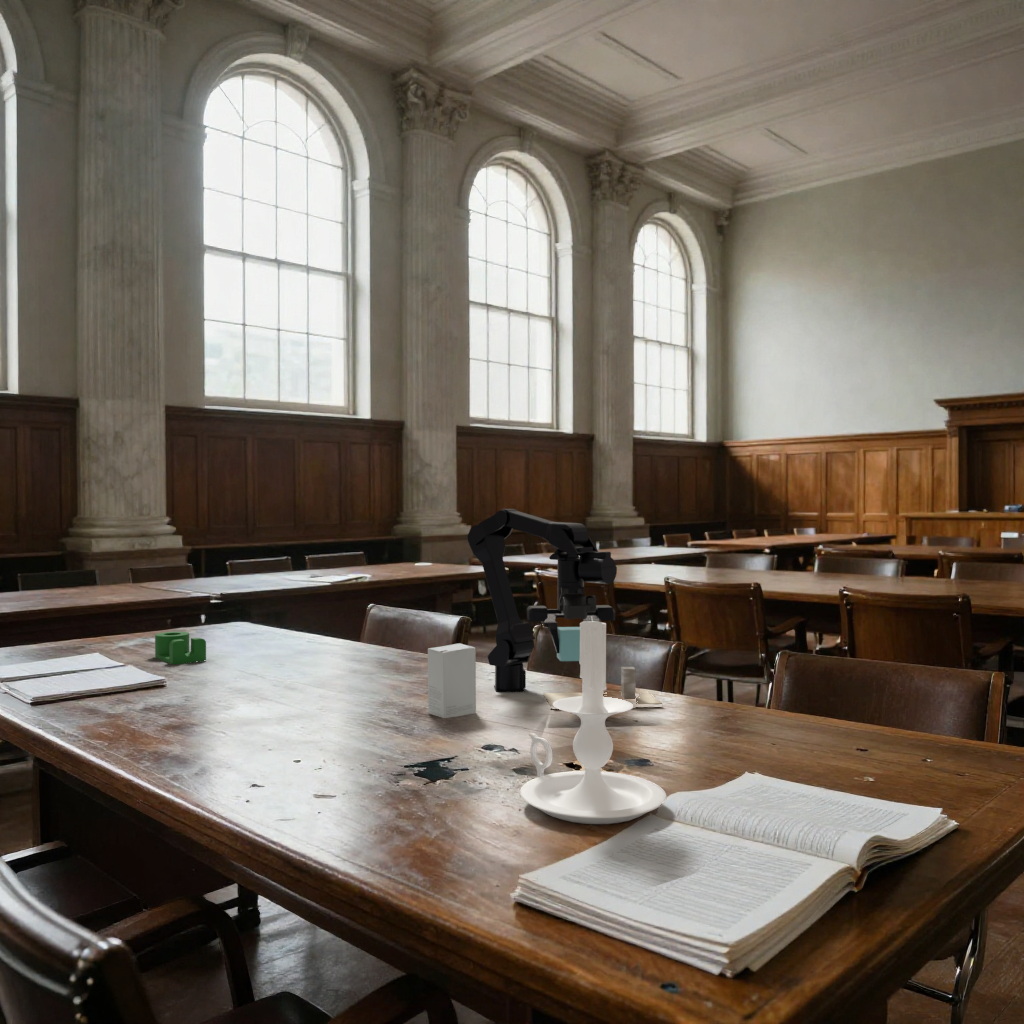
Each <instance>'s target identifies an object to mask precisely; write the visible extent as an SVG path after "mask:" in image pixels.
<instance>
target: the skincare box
mask: <svg viewBox="0 0 1024 1024" xmlns="http://www.w3.org/2000/svg"><path fill="white" fill-rule="evenodd" d="M476 649H477V648H476V647H474V646H472V645H467V644H463V643H461V642H459V643H454V644H447V645H443V646H436V647H430V648H429V647H428V648H427V704H428V705H427V707H428V708H427V710H428V714H429V715H432V716H436V717H439V718H443V719H448V718H454V717H455V718H456V717H460V716H461V717H462V716H467V715H473V714H477V694H476V693H477V690H476V689H477V688H476V687H477V686H476V685H477V679H476V678H477V677H476V675H477V672H476V671H477V669H476V668H477V666H476V665H477V663H476V655H477V654H476V653H477V651H476Z"/></svg>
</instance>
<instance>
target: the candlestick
mask: <svg viewBox="0 0 1024 1024" xmlns="http://www.w3.org/2000/svg"><path fill="white" fill-rule="evenodd" d="M591 619H592V616H591ZM579 627H580V661H578V662H579V665H580V666H579V667H580V669H579V670H580V673H579V678H580V679H581V683H582V684H581V687H582V689H581V690H582V692H581V693H582V696H577V697H568V698H563V699H559V700H557V701H555V702H554V703H553V706H554V707H555V708H557V709H559V710H558V711H563V712H566V713H570V714H573V715H575V716H577V717H578V718H579V719H580V725H579V729H577V732H576V733H575V735H574V738H573V741H572V751H573V754H574V756H575V758H576V759H577V761H578V763H579V764H580V765H581V766H582V767H583V768H584V770H573V771H572V770H571V771H562V772H561V771H560V772H554V773H548V774H545V773H544V771H545V769H547V768H549V767H550V766H551V765H552V762H553V750H552V746H551V744H550V742H549V741H548V740H547V739H546V738H544V737H540V736H539V735H537V734H536V733H534V732H533V733H528V736H529V737H530V739H531V744H530V756H531V757H530V758H531V759H532V762H533V764H534V766H535V768H536V774H537V777H535V778H533V779H531V780H528V781H527V782H525V783H524V784H523V785H522V786H521V788H520V790H519V794H520V797H521V799H522V800H523V801H524V802H526V803H527V804H528V805H530V806H532V807H534V808H536V809H538V810H540V811H541V812H542V813H545V814H546V815H549V816H551V817H553V818H556V819H559V820H561V821H566V822H571V823H578V824H584V825H588V824H589V825H612V824H620V823H623V822H624V823H625V822H629V821H632V820H635V819H637V818H640V817H642V816H644V815H645V814H647V813H648V812H652V811H654V810H657V809H658V808H660V807H661V806H662V805H663V804H662V802H663V801H664V800H665V799H666V800H667V797H668V796H667V792H666V791H665V790H664V789H663V788H662V787H661V786H660V785H658V784H656V783H654V782H653V781H650V780H648V779H645V778H643V777H638V776H635V775H630V774H627V773H622V772H621V773H620V772H612V771H603V770H602V768H603V767H604V766H605V765H606V764H607V763H608V762H609V760H610V759H611V757H612V755H613V752H614V743H613V739H612V737H611V734H610V733H609V730H608V729H607V727H606V720H607V718H608V717H611V716H614V715H616V714H617V715H618V714H621V713H627V712H629V711H631V710H633V709H634V708H633V707H634V705H633V704H632V703H631V702H629V701H626V700H622V699H618V698H612V697H603V692H605V691H606V690H607V687H608V686H607V623H606V622H602V621H600V622H598V621H593V619H592V621H584V622H583V621H581V622H580V623H579ZM539 744H541V745H542V747H543V748H544V750H545V755H546V756H545V757H546V758H545V761H544V762H542V761H541V760H540V759H539V756H538V753H537V747H538V745H539ZM661 804H662V805H661ZM660 805H661V806H660Z"/></svg>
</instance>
